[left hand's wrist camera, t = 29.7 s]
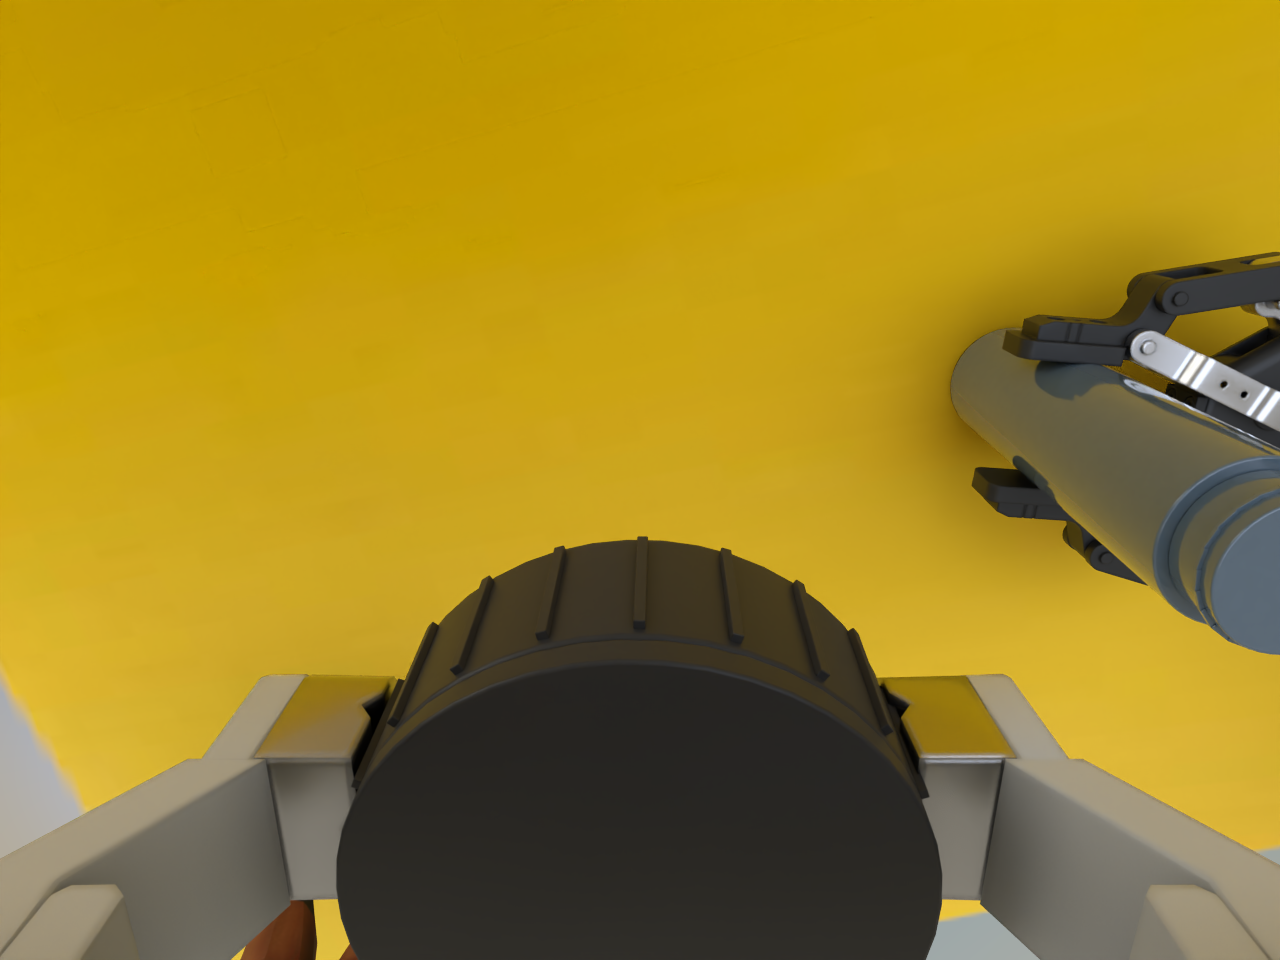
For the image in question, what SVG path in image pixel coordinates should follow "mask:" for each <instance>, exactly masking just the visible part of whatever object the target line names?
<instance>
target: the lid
mask: <svg viewBox="0 0 1280 960" xmlns="http://www.w3.org/2000/svg"><path fill="white" fill-rule="evenodd" d="M900 721H901V720H900V717H899V714H898V712H897V709H896V707H894V706H892V705H889V704H888V703H887V700H886V698H885V695H884V693H883V690H882V688H880V686H879V683H878V681H877V678H876V675H875V673H874V671H873V669H872V667H871V666H870V664H869V661H868V659H867V656H866V653H865V651H864V648H863V645H862V642H861V640H860V637H859V634H858V633H857V632H856V630H855V629H854V628H852V629H851V630H849V631H847V629H846V628H845V627H844V625H843V624H842V623H841V622H840V621H839V620H838V619H837V618H836V617H835V616H833V615H832V614H831V613H830V612H829V611H828V610H827V609H826V608H825V607H824V606H823V605H822V604H821V603H820V602H819V601H817V600H816V599H814V598H813V597H812V596H810V595H809V594H808V593H806V590H805V586H804V584H803V583H801V582H799V581H798V580H796V581H795V582H794V583H792V582H790V581H788V580H787V579H785V578H783V577H781V576H779V575H777V574H776V573H774V572H772V571H770V570H768V569H766V568H765V567H762V566H760V565H757V564H755V563H752V562H750V561H747V560H745V559H742V558H740V557H737V556H735V555H732V554H731V550H729V549H725V548H721V551H717V550H713V549H709V548H706V547H702V546H698V545H690V544H683V543H676V542H669V541H653V540H648V537H637V540H622V541H612V542H601V543H592V544H587V545H583V546H578V547H573V548H569V549H565V547H564V546H560V547H556V548H554V552H553V553H551V554H548V555H545V556H542V557H539V558H536V559H533V560H531V561H528V562H525V563H523V564H521V565H519V566H517V567H515V568H513V569H511V570H509V571H507V572H505V573H503V574H501V575H499V576H497V577H495V578H494V579H492V578H491V577H490V576H488V577H486V578H484V579H483V580H482V581H481V584H480V587H479V589H477V590H476V591H474V592H473V593H471V594H470V595H469V596H467V597H466V598H465V599H464V600H463V601H462V602H461V603H460V604H459V605H458V606H456V607H455V608H454V609H453V610H452V611H451V612H450V613H449V614H448V615H446V616H445V618H444V619H443V620H442V621H441V623H440V624H439V625H437V624H436V623H434V622H432V623H431V624H430V625H429V627H428V628H427V630H426V633H425V635H424V637H423V640H422V642H421V644H420V646H419V649H418V651H417V653H416V656H415V658H414V660H413V663H412V665H411V667H410V669H409V672H408V674H407V676H406V679H405V680H402V679H398V681H397V683H396V685H395V687H394V690H393V692H392V694H391V696H390V699H389V701H388V703H387V705H386V707H385V710H384V712H383V714H382V716H381V719H380V721H379V723H378V725H377V728H376V730H375V732H374V734H373V737H372V739H371V741H370V743H369V745H368V748H367V750H366V752H365V754H364V757H363V759H362V761H361V763H360V766H359V768H358V770H357V772H356V774H355V777H354V779H353V782H352V785H351V787H353V788H356V789H358V791H357V793H356V795H355V797H354V800H353V802H352V805H351V807H350V810H349V813H348V815H347V818H346V820H345V823H344V825H343V828H342V832H341V837H340V842H339V848H338V853H337V858H336V891H337V897H338V903H339V909H340V914H341V919H342V922H343V925H344V928H345V931H346V934H347V937H348V939H349V942H350V945H351V947H352V949H353V951H354V953H355V955H356V957H357V958H358V960H926V958H927V955H928V953H929V950H930V947H931V945H932V942H933V940H934V937H935V935H936V930H937V925H938V920H939V915H940V911H941V905H942V868H941V862H940V856H939V850H938V844H937V841H936V838H935V835H934V833H933V830H932V827H931V824H930V821H929V818H928V816H927V813H926V810H925V807H924V805H923V802H922V799H925V798H929V797H930V796H929V793H928V790H927V787H926V785H925V782H924V779H923V777H922V774H917V772H916V770H915V767H914V765H913V763H912V760H911V758H910V756H909V753H908V751H907V748H906V746H905V744H904V741H903V739H902V737H901V734H900V732H899V728H900Z"/></svg>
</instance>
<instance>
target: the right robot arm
mask: <svg viewBox="0 0 1280 960" xmlns="http://www.w3.org/2000/svg"><path fill="white" fill-rule="evenodd" d="M1127 296H1128V299H1127V300H1126V302H1125V304H1124V305H1123V307H1122V308H1121V309H1120V311H1119V312H1118V313H1116V314H1115V315H1114V316H1112V317H1110V318H1107V319H1088V318H1075V317H1062V316H1049V315H1036V316H1033V317H1029V318H1026V319H1024V323H1023V327H1022V331H1021V330H1006V332H1005V337H1004V341H1003V346H1002V349H1003V350H1005V351H1007V352H1009V353H1011V354H1013V355H1014V356H1016V357H1019V358H1023V359H1029V360H1040V361H1054V362H1067V363H1081V364H1097V365H1108V366H1122V362H1123V360H1129V361H1131V362H1133V363H1135V364H1137V365H1139V366H1141V367H1142V368H1144V369H1146V370H1148V371H1150V372H1152V373H1154V374H1157V375H1159V376H1161V377H1163V378H1165V379H1167V380H1169V381H1171V382H1173V383H1175V384H1168V386H1167V389H1166V393H1165V394H1166V395H1168V396H1171V397H1173V398H1175V399H1177V400H1179V401H1181V402H1183V403H1185V404H1187V405H1189V406H1191V407H1194V408H1196V409H1198V410H1200V411H1202V412H1204V413H1206V414H1208V415H1210V416H1212V417H1215V418H1217V419H1219V420H1221V421H1223V422H1225V423H1227V424H1229V425H1231V426H1233V427H1235V428H1238V429H1240V430H1242V431H1244V432H1246V433H1248V434H1250V435H1252V436H1254V437H1256V438H1259V439H1261V440H1263V441H1265V442H1267V443H1269V444H1271V445H1273V446H1275V447H1277V448H1279V449H1280V252H1271V253H1265V254H1259V255H1252V256H1246V257H1240V258H1234V259H1227V260H1221V261H1215V262H1209V263H1202V264H1196V265H1190V266H1184V267H1177V268H1171V269H1165V270H1159V271H1152V272H1146V273H1141V274H1139V275H1137V276H1135V277H1134V278H1133V279H1132V280H1131V281H1130V283H1129V285H1128V288H1127ZM1236 306H1241V308H1242V309H1243V310H1244V311H1245V312H1248V313H1251V314H1255V315H1259V316H1263V317H1265V318H1266V319H1267V321H1268V326H1267V327H1265V328H1263V329H1261V330H1259V331H1257V332H1255V333H1254V334H1252V335H1250V336H1248V337H1246V338H1244V339H1242V340H1241V341H1239V342H1237V343H1235V344H1233V345H1231V346H1229V347H1227V348H1226V349H1224V350H1222V351H1220V352H1218V353H1216V354H1214V355H1213V356H1211V357H1208V356H1205V355H1203V354H1201V353H1198V352H1196V351H1194V350H1192V349H1190V348H1188V347H1186V346H1184V345H1182V344H1180V343H1178V342H1176V341H1174V340H1172V339H1170V338H1168V337H1166V336H1164V335H1165V333H1166V332H1167V330H1168V329H1169V327H1170V326H1171V324H1172V323H1173V321H1174V320H1175V318H1176V317H1177V316H1179V315H1185V314H1191V313H1198V312H1204V311H1210V310H1217V309H1223V308H1229V307H1236ZM972 487H973V488H974V489H975V490H976V491H977V492H979V493H980V494H981V495H982V496H983V497H984V499H985V500H986V501H987V502H988V503H989V504H990V505H991V506H992V507H993V508H994V509H995V510H996V511H997V512H999V513H1002V514H1004V515H1006V516H1008V517H1019V518H1022V517H1024V518H1034V519H1048V520H1063V521H1066V523H1067V525H1066V527H1065V528H1064V530H1063V539H1064V541H1065V542H1066V543H1067V544H1068V545H1069V546H1070V547H1071V548H1073V549H1075V550H1076V551H1077V552H1078V553H1080V554H1081V555H1082V556H1083V557H1084V558H1085V559H1086V561H1087V562H1088V563H1089V564H1090V565H1091V566H1092V567H1093V568H1094V569H1096V570H1098V571H1101V572H1105V573H1108V574H1111V575H1115V576H1118V577H1121V578H1125V579H1128V580H1131V581H1134V582H1138V583H1141V584H1144V585H1147V584H1146V583H1145V582H1144V581H1143V580H1142V579H1141V578H1139V577H1138V576H1137V575H1136V574H1135V573H1134V572H1133V571H1132V570H1130V569H1129V568H1128V567H1127V566H1126V565H1125V564H1124V563H1123V562H1121V561H1120V560H1119V559H1118V558H1117V557H1116V556H1115V555H1114V554H1112V553H1111V552H1110V551H1109V550H1108V549H1107V548H1106V547H1105V546H1103V545H1102V544H1101V543H1100V542H1099V541H1098V540H1097V539H1096V538H1094V537H1093V536H1092V535H1091V534H1090V533H1089V532H1088V531H1087V530H1085V529H1084V528H1083V527H1082V526H1081V525H1080V524H1079V523H1078V522H1076V521H1075V520H1074V519H1073V518H1072V517H1071V516H1070V515H1069V514H1067V513H1066V512H1065V511H1064V510H1063V509H1062V508H1061V507H1060V506H1058V505H1057V504H1056V503H1055V502H1054V501H1053V500H1052V499H1051V498H1049V497H1048V496H1047V495H1046V494H1045V493H1044V492H1043V491H1042V490H1040V489H1039V488H1038V487H1037V486H1036V485H1035V484H1034V483H1033V482H1031V481H1030V480H1029V479H1028V478H1027V477H1026V476H1025V475H1024V474H1022V473H1021V472H1020V471H1019V470H1016V469H1001V468H986V467H978V468H976V469H975V472H974V477H973V482H972Z"/></svg>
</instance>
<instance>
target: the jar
mask: <svg viewBox="0 0 1280 960" xmlns="http://www.w3.org/2000/svg"><path fill="white" fill-rule="evenodd" d="M1006 330H1021V331H1022V328H1005V329H1000V330H997V331H994V332H991V333H989V334H987V335H984V336H983V337H981V338H980V339H978V340H977V341H975V342H974V343H973V344H972V345H971V346H970V347H969V348H968V349H967V350H966V351H965V352H964V353H963V355H962V356H961V357H960V359H959V361H958V362H957V364H956V367H955V369H954V372H953V375H952V380H951V398H952V402H953V405H954V407H955V410H956V412H957V413H958V415H959V416H960V418H961V419H962V420H963V421H964V422H965V423H966V424H967V425H968V426H970V427H971V428H972V429H973V430H974V431H975V432H976V433H977V434H979V435H980V436H981V437H982V438H983V439H984V440H985V441H986V442H988V443H989V444H990V445H991V446H992V447H993V448H994V449H995V450H997V451H998V452H999V453H1000V454H1001V455H1002V456H1003V457H1004V458H1006V459H1007V460H1008V461H1009V462H1010V463H1011V464H1012V465H1013V466H1015V467H1016V468H1017V469H1018V470H1019V471H1020V472H1021V473H1022V474H1024V475H1025V476H1026V477H1027V478H1028V479H1029V480H1030V481H1031V482H1033V483H1034V484H1035V485H1036V486H1037V487H1038V488H1039V489H1040V490H1042V491H1043V492H1044V493H1045V494H1046V495H1047V496H1048V497H1049V498H1051V499H1052V500H1053V501H1054V502H1055V503H1056V504H1057V505H1058V506H1060V507H1061V508H1062V509H1063V510H1064V511H1065V512H1066V513H1067V514H1069V515H1070V516H1071V517H1072V518H1073V519H1074V520H1075V521H1076V522H1078V523H1079V524H1080V525H1081V526H1082V527H1083V528H1084V529H1085V530H1087V531H1088V532H1089V533H1090V534H1091V535H1092V536H1093V537H1094V538H1096V539H1097V540H1098V541H1099V542H1100V543H1101V544H1102V545H1103V546H1105V547H1106V548H1107V549H1108V550H1109V551H1110V552H1111V553H1112V554H1114V555H1115V556H1116V557H1117V558H1118V559H1119V560H1120V561H1121V562H1123V563H1124V564H1125V565H1126V566H1127V567H1128V568H1129V569H1130V570H1132V571H1133V572H1134V573H1135V574H1136V575H1137V576H1138V577H1139V578H1141V579H1142V580H1143V581H1144V582H1145V583H1146V584H1147V585H1148V586H1150V587H1151V588H1152V589H1153V590H1154V591H1155V592H1156V593H1157V594H1159V595H1160V596H1161V597H1162V598H1163V599H1164V600H1165V601H1166V602H1168V603H1169V604H1170V605H1171V606H1172V607H1173V608H1174V609H1175V610H1177V611H1178V612H1180V613H1181V614H1183V615H1184V616H1186V617H1188V618H1190V619H1192V620H1194V621H1197V622H1201V623H1204V624H1208V625H1209V626H1210V627H1211V628H1212V629H1213V630H1215V631H1216V632H1217V633H1218V634H1220V635H1221V636H1222V637H1224V638H1225V639H1226V640H1227V641H1229V642H1232V643H1234V644H1237V645H1240V646H1242V647H1245V648H1247V649H1251V650H1254V651H1257V652H1261V653H1267V654H1276V655H1280V449H1279V448H1277V447H1275V446H1273V445H1271V444H1269V443H1267V442H1265V441H1263V440H1261V439H1259V438H1256V437H1254V436H1252V435H1250V434H1248V433H1246V432H1244V431H1242V430H1240V429H1238V428H1235V427H1233V426H1231V425H1229V424H1227V423H1225V422H1223V421H1221V420H1219V419H1217V418H1215V417H1212V416H1210V415H1208V414H1206V413H1204V412H1202V411H1200V410H1198V409H1196V408H1194V407H1191V406H1189V405H1187V404H1185V403H1183V402H1181V401H1179V400H1177V399H1175V398H1173V397H1171V396H1168V395H1166V394H1164V393H1162V392H1160V391H1158V390H1156V389H1154V388H1152V387H1150V386H1147V385H1145V384H1143V383H1141V382H1139V381H1137V380H1135V379H1133V378H1131V377H1129V376H1126V375H1124V374H1122V373H1120V372H1118V371H1116V370H1114V369H1112V368H1110V367H1108V366H1106V365H1097V364H1081V363H1067V362H1054V361H1040V360H1029V359H1023V358H1019V357H1016V356H1014V355H1013V354H1011V353H1009V352H1007V351H1005V350H1003V349H1002V346H1003V341H1004V337H1005V332H1006Z"/></svg>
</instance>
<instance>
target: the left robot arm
mask: <svg viewBox="0 0 1280 960" xmlns="http://www.w3.org/2000/svg"><path fill="white" fill-rule="evenodd" d="M877 681H878V683H879V686H880V688H882V690H883V693H884V695H885V698H886V700H887V703H888V704H889V705H892V706H894V707H896V709H897V712H898V714H899V717H900V720H901V721H900V728H899V732H900V734H901V737H902V739H903V741H904V744H905V746H906V748H907V751H908V753H909V756H910V758H911V760H912V763H913V765H914V767H915V770H916V772H917V774H922V777H923V779H924V782H925V785H926V787H927V790H928V793H929V796H930V797H929V798H925V799H922V802H923V805H924V807H925V810H926V813H927V816H928V818H929V821H930V824H931V827H932V830H933V833H934V835H935V838H936V841H937V844H938V850H939V856H940V862H941V868H942V899H953V900H981V902H980V904H981V905H982V906H983V907H984V908H985V909H986V910H987V911H988V912H989V913H991V914H992V915H993V916H994V917H995V918H996V919H997V920H998V921H999V922H1000V923H1001V924H1002V925H1003V926H1005V927H1006V928H1007V929H1008V930H1009V931H1010V932H1011V933H1012V934H1013V935H1014V936H1015V937H1017V938H1018V939H1019V940H1020V941H1021V942H1022V943H1023V944H1024V945H1025V946H1026V947H1027V948H1028V949H1029V950H1030V951H1032V952H1033V953H1034V954H1035V955H1036V956H1037V957H1038V958H1039V959H1040V960H1280V865H1278V864H1277V863H1275V862H1273V861H1271V860H1269V859H1267V858H1265V857H1264V856H1262V855H1260V854H1258V853H1256V852H1254V851H1252V850H1251V849H1249V848H1247V847H1245V846H1243V845H1241V844H1239V843H1238V842H1236V841H1234V840H1232V839H1230V838H1228V837H1226V836H1225V835H1223V834H1221V833H1219V832H1217V831H1215V830H1213V829H1212V828H1210V827H1208V826H1206V825H1204V824H1202V823H1200V822H1199V821H1197V820H1195V819H1193V818H1191V817H1189V816H1187V815H1186V814H1184V813H1182V812H1180V811H1178V810H1176V809H1174V808H1173V807H1171V806H1169V805H1167V804H1165V803H1163V802H1161V801H1160V800H1158V799H1156V798H1154V797H1152V796H1150V795H1148V794H1147V793H1145V792H1143V791H1141V790H1139V789H1137V788H1135V787H1134V786H1132V785H1130V784H1128V783H1126V782H1124V781H1122V780H1121V779H1119V778H1117V777H1115V776H1113V775H1111V774H1109V773H1108V772H1106V771H1104V770H1102V769H1100V768H1098V767H1096V766H1095V765H1093V764H1091V763H1089V762H1087V761H1085V760H1084V759H1069V758H1068V757H1067V755H1066V754H1065V752H1064V751H1063V750H1062V748H1061V747H1060V746H1059V744H1058V743H1057V741H1056V740H1055V739H1054V737H1053V736H1052V734H1051V733H1050V732H1049V730H1048V729H1047V727H1046V726H1045V725H1044V723H1043V722H1042V721H1041V719H1040V718H1039V716H1038V715H1037V714H1036V712H1035V711H1034V709H1033V708H1032V707H1031V705H1030V704H1029V702H1028V701H1027V700H1026V698H1025V697H1024V696H1023V694H1022V693H1021V691H1020V690H1019V689H1018V687H1017V686H1016V684H1015V683H1014V682H1013V680H1012V679H1011V678H1010V677H1008V676H1006V675H1004V674H985V675H961V676H931V677H890V678H877ZM396 683H397V680H396V678H395V677H394V676H350V675H311V676H309V675H307V674H287V675H268V676H264V677H261V678H260V679H259V681H258V682H257V683H256V685H255V686H254V687H253V689H252V690H251V692H250V693H249V694H248V696H247V697H246V698H245V700H244V701H243V702H242V704H241V705H240V707H239V708H238V709H237V711H236V712H235V713H234V715H233V716H232V718H231V719H230V720H229V722H228V723H227V724H226V726H225V727H224V729H223V730H222V731H221V733H220V734H219V735H218V737H217V738H216V739H215V741H214V742H213V744H212V745H211V746H210V748H209V749H208V750H207V752H206V753H205V755H204V756H203V757H202V759H187V760H185V761H183V762H181V763H179V764H178V765H176V766H174V767H172V768H170V769H168V770H166V771H164V772H162V773H161V774H159V775H157V776H155V777H153V778H151V779H149V780H147V781H146V782H144V783H142V784H140V785H138V786H136V787H134V788H132V789H131V790H129V791H127V792H125V793H123V794H121V795H119V796H117V797H115V798H114V799H112V800H110V801H108V802H106V803H104V804H102V805H100V806H99V807H97V808H95V809H93V810H91V811H89V812H87V813H85V814H84V815H82V816H80V817H78V818H76V819H74V820H72V821H70V822H69V823H67V824H65V825H63V826H61V827H59V828H57V829H55V830H53V831H52V832H50V833H48V834H46V835H44V836H42V837H40V838H39V839H37V840H35V841H33V842H31V843H29V844H27V845H25V846H23V847H22V848H20V849H18V850H16V851H14V852H12V853H10V854H8V855H6V856H5V857H3V858H1V859H0V960H231V959H232V958H233V957H234V956H235V955H236V954H237V953H238V952H239V951H241V950H242V949H243V948H244V947H245V946H246V945H247V944H248V943H249V942H250V941H251V940H253V939H254V938H255V937H256V936H257V935H258V934H259V933H260V932H261V931H262V930H263V929H265V928H266V927H267V926H268V925H269V924H270V923H271V922H272V921H273V920H274V919H275V918H277V917H278V916H279V915H280V914H281V913H282V912H283V911H284V910H285V909H286V908H287V907H289V906H290V905H291V903H290V900H317V899H338V897H337V891H336V858H337V853H338V848H339V842H340V837H341V832H342V828H343V825H344V823H345V820H346V818H347V815H348V813H349V810H350V807H351V805H352V802H353V800H354V797H355V795H356V793H357V791H358V789H356V788H353V787H351V785H352V782H353V779H354V777H355V774H356V772H357V770H358V768H359V766H360V763H361V761H362V759H363V757H364V754H365V752H366V750H367V748H368V745H369V743H370V741H371V739H372V737H373V734H374V732H375V730H376V728H377V725H378V723H379V721H380V719H381V716H382V714H383V712H384V710H385V707H386V705H387V703H388V701H389V699H390V696H391V694H392V692H393V690H394V687H395V685H396Z"/></svg>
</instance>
